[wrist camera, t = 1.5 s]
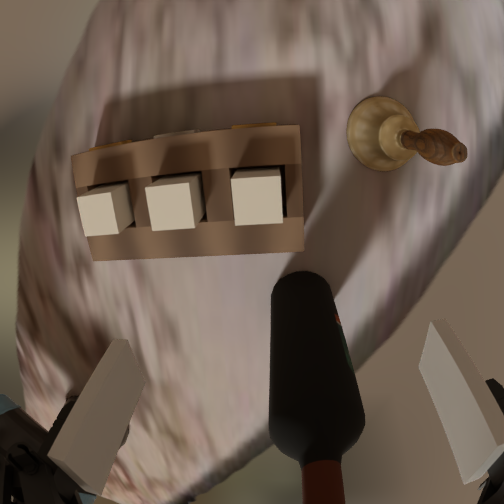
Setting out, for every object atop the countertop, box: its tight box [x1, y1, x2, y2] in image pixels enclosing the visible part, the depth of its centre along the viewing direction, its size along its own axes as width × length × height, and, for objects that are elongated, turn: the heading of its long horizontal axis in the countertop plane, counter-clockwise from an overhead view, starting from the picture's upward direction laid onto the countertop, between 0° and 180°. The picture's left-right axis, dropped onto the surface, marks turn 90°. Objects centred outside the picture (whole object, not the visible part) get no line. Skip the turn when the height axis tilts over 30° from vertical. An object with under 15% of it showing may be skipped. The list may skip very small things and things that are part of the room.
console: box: [71, 122, 304, 261], centre depth 31 cm, size 23×12×5 cm, turn 95°
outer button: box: [231, 167, 283, 226], centre depth 28 cm, size 4×4×5 cm
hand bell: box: [346, 96, 467, 171], centre depth 23 cm, size 8×8×16 cm
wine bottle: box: [269, 271, 365, 504], centre depth 25 cm, size 8×8×30 cm
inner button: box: [77, 181, 135, 237], centre depth 29 cm, size 4×4×5 cm
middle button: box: [145, 173, 206, 231], centre depth 29 cm, size 4×4×5 cm
